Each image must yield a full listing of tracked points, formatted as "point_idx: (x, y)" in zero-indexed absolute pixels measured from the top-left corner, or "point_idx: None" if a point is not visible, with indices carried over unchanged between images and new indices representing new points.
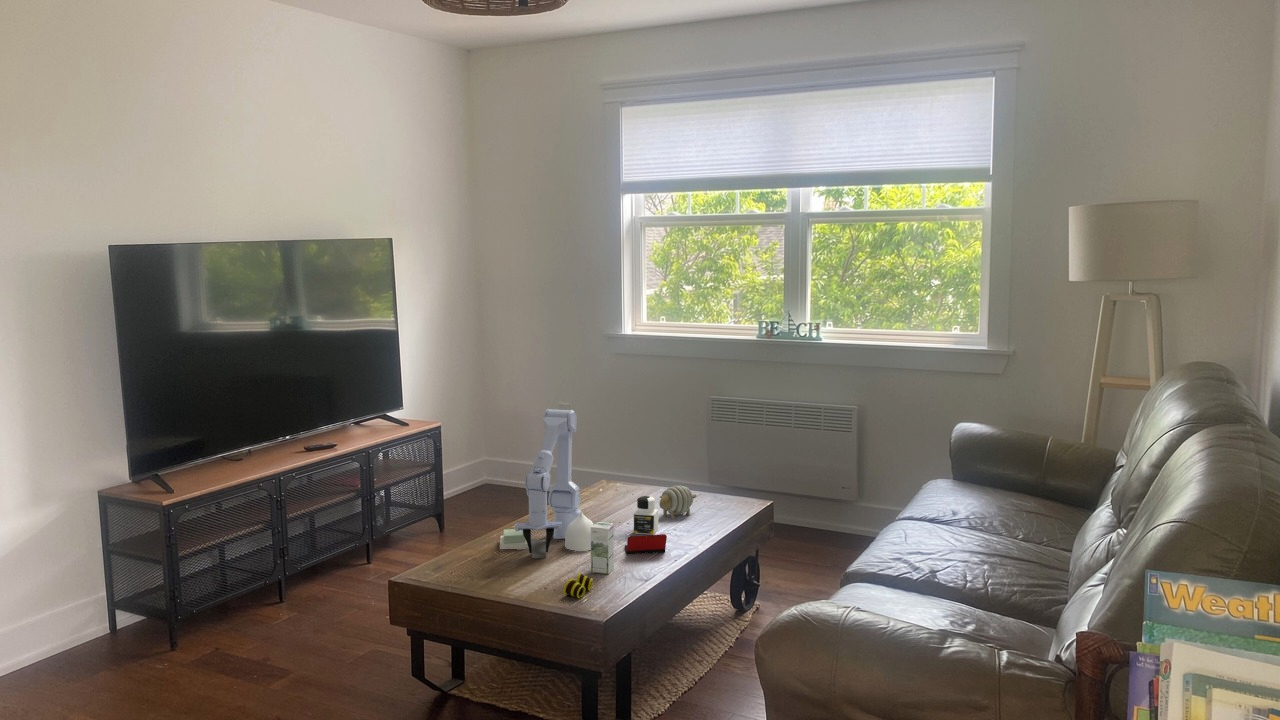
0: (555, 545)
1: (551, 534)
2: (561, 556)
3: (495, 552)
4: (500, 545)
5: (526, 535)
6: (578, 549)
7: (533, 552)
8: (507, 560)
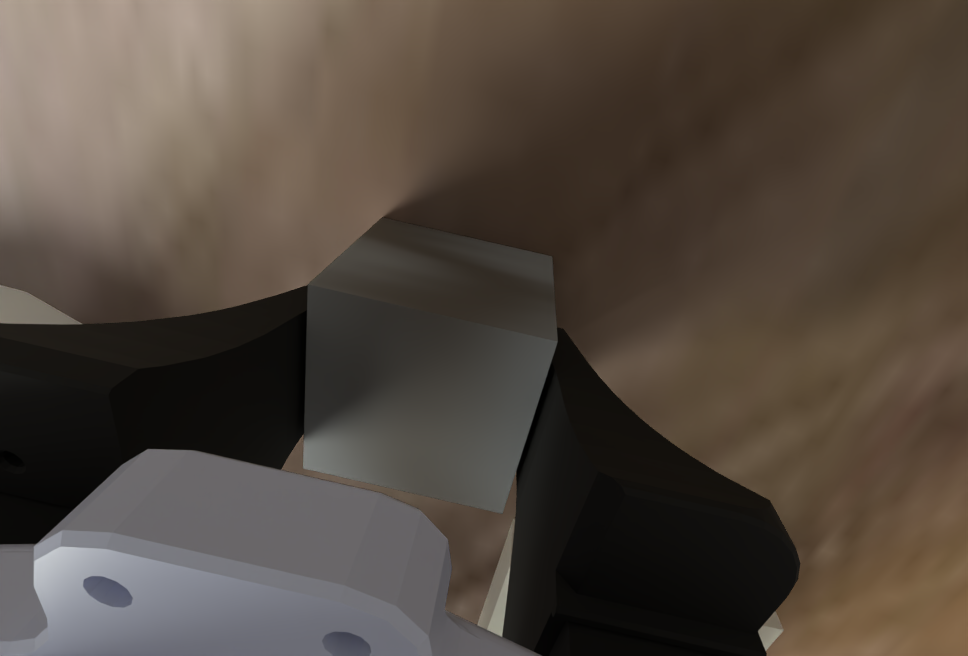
0: None
1: (29, 331)
2: (202, 213)
3: (827, 545)
4: (772, 616)
5: (704, 487)
6: (11, 307)
7: (529, 280)
8: (846, 304)
